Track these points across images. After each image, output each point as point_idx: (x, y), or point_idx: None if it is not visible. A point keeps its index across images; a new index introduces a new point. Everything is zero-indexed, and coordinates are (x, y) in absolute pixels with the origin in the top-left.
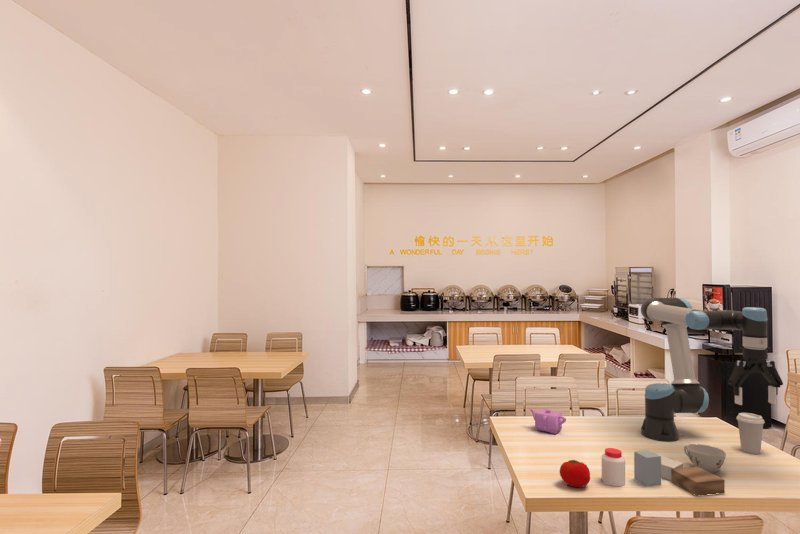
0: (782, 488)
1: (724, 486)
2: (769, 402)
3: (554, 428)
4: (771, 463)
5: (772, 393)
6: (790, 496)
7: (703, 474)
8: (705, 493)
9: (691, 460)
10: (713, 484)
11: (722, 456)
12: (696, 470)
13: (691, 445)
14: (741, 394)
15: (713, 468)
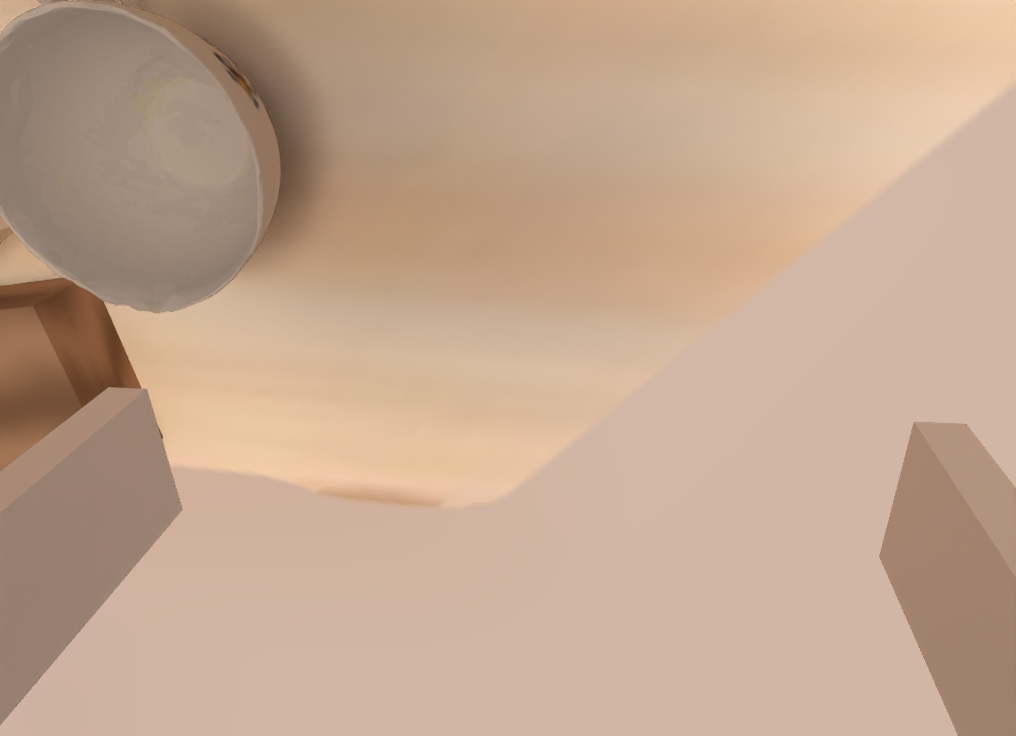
0: (525, 419)
1: None
2: (909, 456)
3: None
4: (869, 9)
5: (992, 734)
6: (486, 496)
7: (28, 413)
8: None
9: (62, 138)
10: None
11: (191, 304)
12: (6, 360)
13: (43, 18)
14: (24, 676)
15: (189, 244)
